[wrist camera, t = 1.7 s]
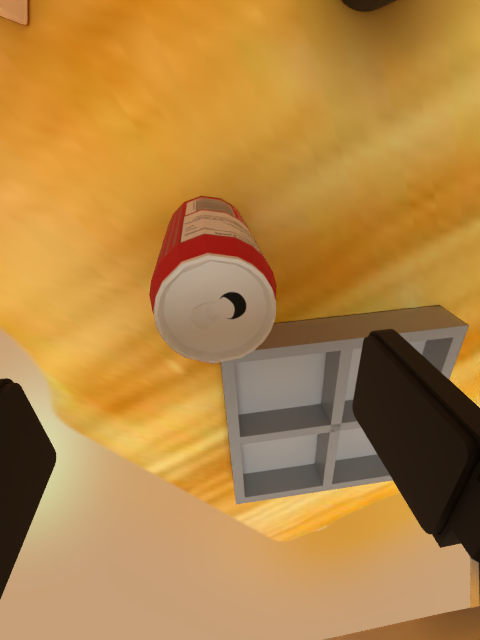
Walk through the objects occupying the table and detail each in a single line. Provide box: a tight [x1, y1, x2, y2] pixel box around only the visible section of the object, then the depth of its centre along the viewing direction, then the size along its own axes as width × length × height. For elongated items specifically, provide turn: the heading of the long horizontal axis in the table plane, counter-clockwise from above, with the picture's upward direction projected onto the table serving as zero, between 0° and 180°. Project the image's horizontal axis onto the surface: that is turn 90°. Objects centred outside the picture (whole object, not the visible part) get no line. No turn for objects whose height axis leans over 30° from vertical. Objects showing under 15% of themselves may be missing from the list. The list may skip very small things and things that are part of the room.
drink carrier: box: [221, 305, 469, 504], centre depth 31 cm, size 20×20×4 cm
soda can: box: [150, 196, 276, 364], centre depth 18 cm, size 6×6×12 cm
